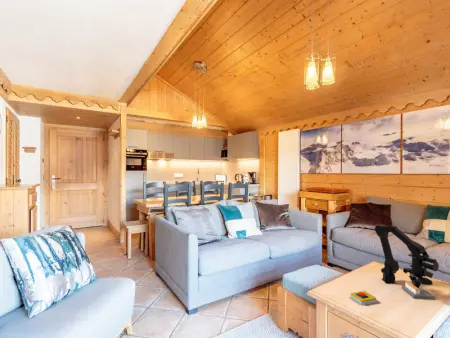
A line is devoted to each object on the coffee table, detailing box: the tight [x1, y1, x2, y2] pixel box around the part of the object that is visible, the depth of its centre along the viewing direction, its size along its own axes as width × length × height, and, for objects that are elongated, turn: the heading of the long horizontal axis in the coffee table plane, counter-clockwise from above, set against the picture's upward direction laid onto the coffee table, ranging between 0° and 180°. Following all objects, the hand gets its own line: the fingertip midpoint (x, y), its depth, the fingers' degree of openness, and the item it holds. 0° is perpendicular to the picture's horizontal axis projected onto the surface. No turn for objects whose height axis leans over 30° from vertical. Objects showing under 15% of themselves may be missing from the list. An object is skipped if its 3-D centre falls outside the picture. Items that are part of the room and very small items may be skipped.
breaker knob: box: [404, 281, 420, 295], centre depth 158 cm, size 2×10×3 cm, turn 174°
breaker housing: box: [401, 285, 436, 301], centre depth 158 cm, size 12×12×2 cm
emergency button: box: [348, 290, 380, 307], centre depth 150 cm, size 9×4×15 cm
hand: (416, 289), depth 158 cm, fingers closed
